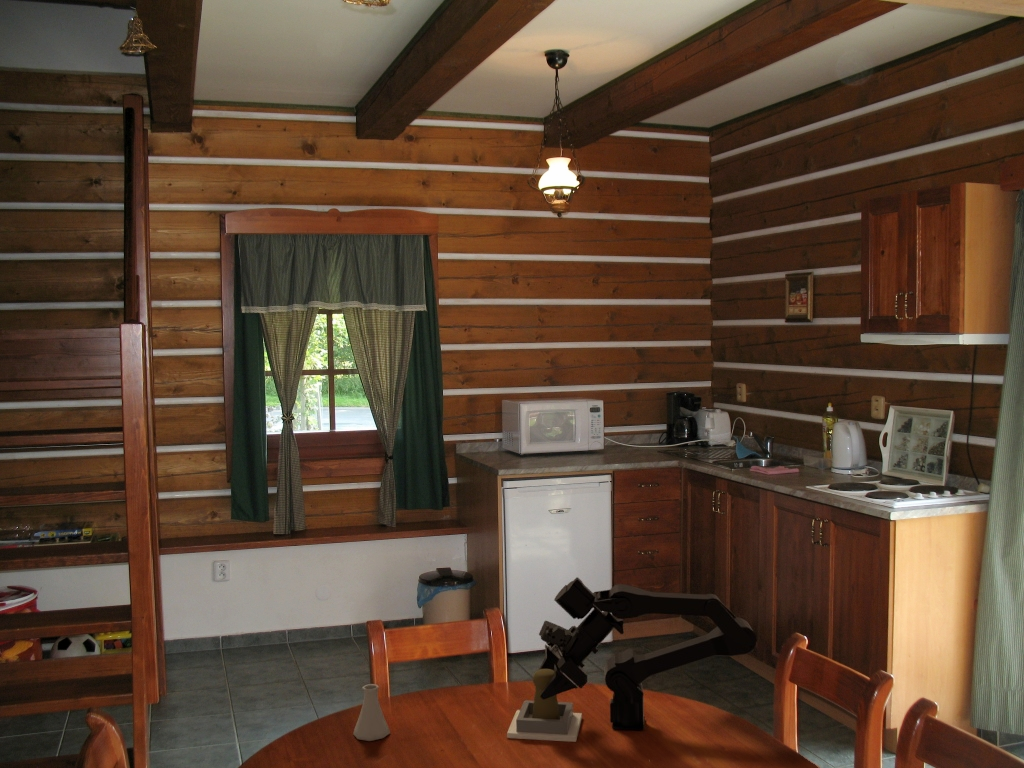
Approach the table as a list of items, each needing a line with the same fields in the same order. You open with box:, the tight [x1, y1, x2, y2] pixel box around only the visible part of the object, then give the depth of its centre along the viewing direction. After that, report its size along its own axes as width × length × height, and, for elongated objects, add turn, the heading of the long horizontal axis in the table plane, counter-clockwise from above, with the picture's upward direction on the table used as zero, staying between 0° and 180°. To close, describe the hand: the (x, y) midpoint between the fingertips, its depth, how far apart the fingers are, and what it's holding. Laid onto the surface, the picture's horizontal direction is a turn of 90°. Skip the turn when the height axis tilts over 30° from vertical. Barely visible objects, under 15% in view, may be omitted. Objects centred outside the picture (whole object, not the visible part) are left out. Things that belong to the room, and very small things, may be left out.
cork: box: [532, 669, 560, 720], centre depth 192 cm, size 6×6×11 cm
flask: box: [352, 683, 391, 742], centre depth 190 cm, size 7×7×10 cm
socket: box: [506, 699, 583, 743], centre depth 192 cm, size 14×12×4 cm
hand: (538, 689), depth 191 cm, fingers open, 9 cm apart
